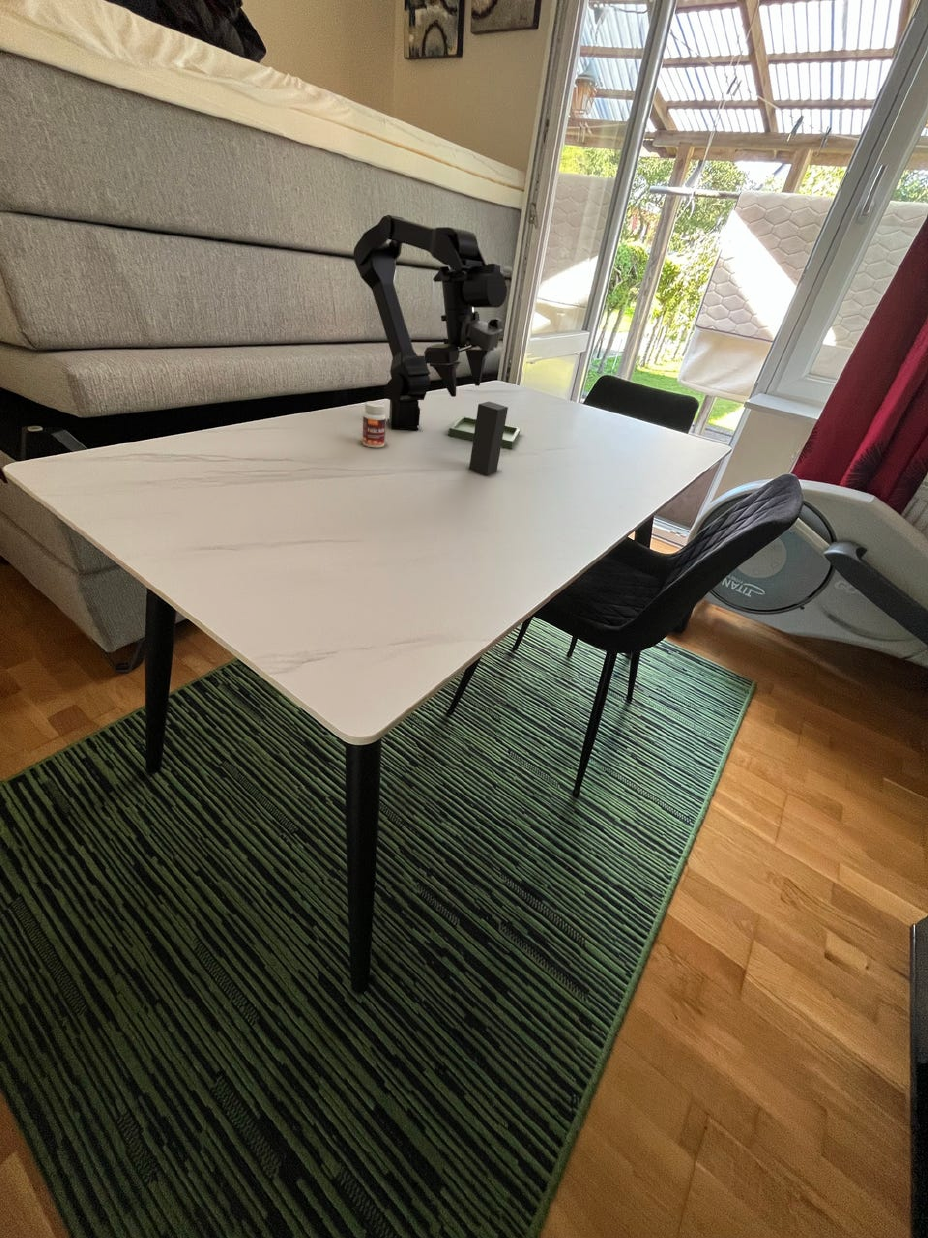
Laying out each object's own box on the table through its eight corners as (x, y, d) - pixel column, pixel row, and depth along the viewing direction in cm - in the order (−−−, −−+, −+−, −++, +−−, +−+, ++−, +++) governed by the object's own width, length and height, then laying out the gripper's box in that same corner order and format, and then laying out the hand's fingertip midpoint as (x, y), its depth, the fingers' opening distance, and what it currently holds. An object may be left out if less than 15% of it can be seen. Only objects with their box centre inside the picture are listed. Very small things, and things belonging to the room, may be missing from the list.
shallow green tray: (448, 435, 124) (449, 427, 123) (461, 422, 134) (462, 415, 133) (511, 449, 122) (512, 441, 121) (519, 435, 132) (520, 428, 131)
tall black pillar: (468, 468, 108) (478, 403, 100) (478, 464, 111) (488, 401, 103) (486, 475, 106) (497, 410, 98) (496, 471, 109) (508, 407, 101)
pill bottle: (366, 448, 109) (367, 407, 104) (359, 440, 112) (360, 400, 107) (387, 447, 111) (389, 407, 106) (380, 440, 114) (381, 400, 109)
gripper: (465, 314, 93) (472, 405, 102) (517, 299, 104) (519, 381, 114) (417, 315, 98) (428, 401, 108) (472, 300, 110) (477, 379, 119)
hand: (465, 390), depth 112 cm, fingers open, 9 cm apart
